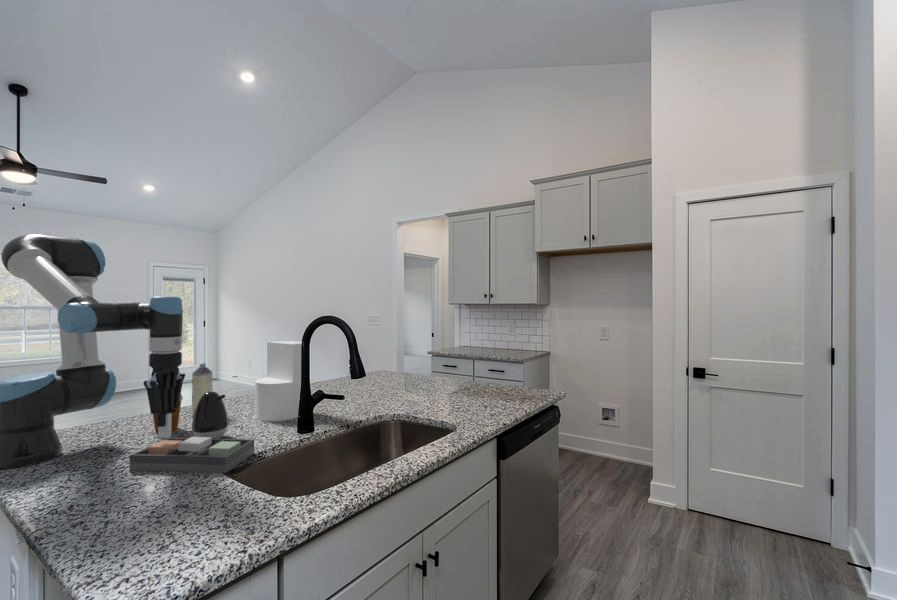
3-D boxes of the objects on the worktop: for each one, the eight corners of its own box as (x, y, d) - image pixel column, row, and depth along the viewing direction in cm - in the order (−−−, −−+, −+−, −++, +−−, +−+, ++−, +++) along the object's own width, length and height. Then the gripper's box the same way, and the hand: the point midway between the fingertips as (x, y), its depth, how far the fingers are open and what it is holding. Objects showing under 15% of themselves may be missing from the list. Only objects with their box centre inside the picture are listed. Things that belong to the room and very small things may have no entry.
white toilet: (286, 407, 176) (286, 340, 176) (312, 413, 166) (312, 342, 166) (246, 416, 162) (246, 343, 162) (271, 424, 152) (271, 346, 152)
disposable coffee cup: (143, 432, 142) (143, 397, 142) (170, 425, 151) (170, 391, 151) (161, 435, 139) (162, 399, 139) (189, 427, 148) (189, 393, 148)
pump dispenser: (212, 445, 130) (212, 395, 130) (183, 443, 132) (183, 394, 132) (235, 434, 139) (235, 388, 140) (208, 433, 142) (208, 387, 142)
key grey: (178, 451, 113) (178, 443, 113) (192, 444, 119) (192, 436, 119) (198, 451, 113) (198, 443, 113) (211, 444, 119) (211, 437, 119)
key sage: (208, 455, 113) (208, 448, 113) (221, 448, 118) (221, 441, 119) (228, 456, 113) (228, 448, 113) (240, 448, 118) (240, 441, 118)
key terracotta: (148, 454, 114) (148, 447, 114) (163, 447, 120) (163, 440, 120) (168, 454, 114) (168, 447, 114) (182, 447, 119) (182, 440, 119)
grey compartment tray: (129, 470, 110) (129, 455, 110) (168, 451, 124) (168, 437, 124) (225, 472, 108) (225, 457, 108) (254, 453, 122) (254, 439, 122)
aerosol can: (196, 413, 167) (196, 363, 167) (215, 412, 168) (215, 362, 168) (189, 418, 160) (189, 365, 160) (208, 417, 161) (208, 365, 161)
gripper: (161, 355, 110) (160, 445, 110) (194, 349, 123) (193, 430, 123) (134, 354, 111) (132, 444, 111) (170, 349, 124) (168, 429, 124)
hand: (164, 436), depth 117 cm, fingers closed
